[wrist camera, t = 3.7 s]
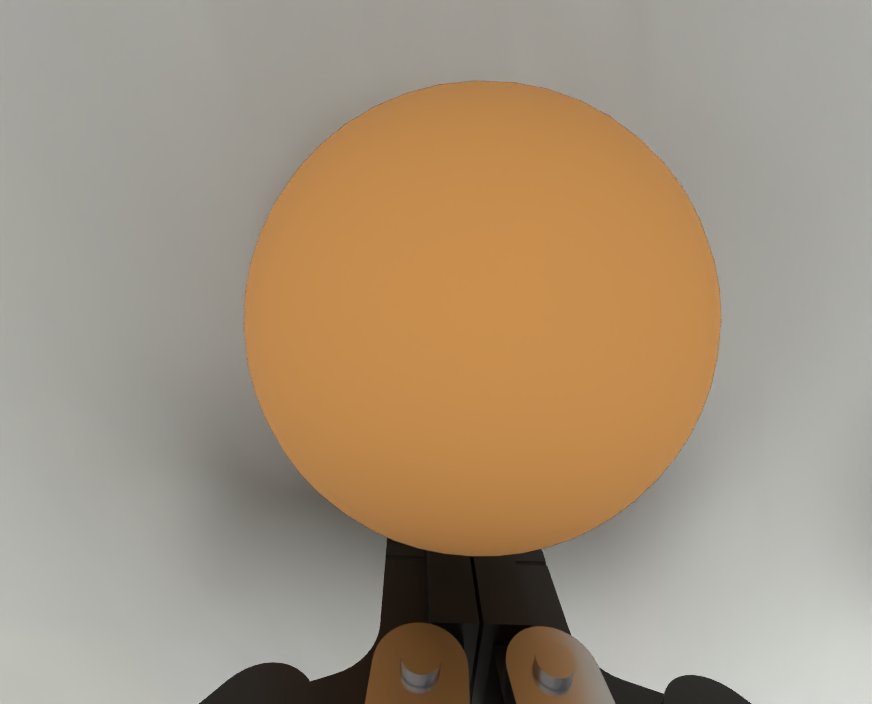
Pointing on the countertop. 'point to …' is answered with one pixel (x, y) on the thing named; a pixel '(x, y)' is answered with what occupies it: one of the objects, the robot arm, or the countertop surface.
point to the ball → (482, 318)
